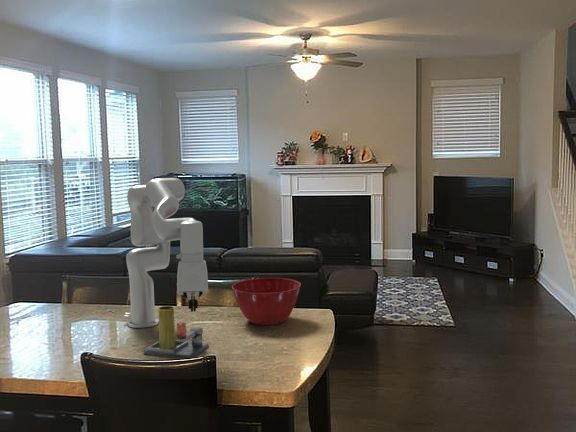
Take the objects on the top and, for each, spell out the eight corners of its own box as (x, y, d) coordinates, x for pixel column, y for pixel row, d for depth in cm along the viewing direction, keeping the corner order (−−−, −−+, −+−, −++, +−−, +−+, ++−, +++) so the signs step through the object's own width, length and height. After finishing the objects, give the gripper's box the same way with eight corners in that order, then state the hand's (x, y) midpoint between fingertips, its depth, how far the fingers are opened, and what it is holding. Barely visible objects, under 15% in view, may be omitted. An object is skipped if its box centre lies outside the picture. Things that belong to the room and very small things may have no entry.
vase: (160, 344, 216) (158, 306, 215) (177, 344, 217) (175, 305, 216) (157, 350, 210) (156, 310, 209) (175, 349, 211) (173, 309, 210)
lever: (193, 331, 218) (193, 313, 217) (204, 332, 216) (204, 314, 216) (174, 343, 204) (173, 324, 203) (185, 344, 202) (184, 325, 202)
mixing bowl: (296, 331, 234) (295, 292, 233) (225, 329, 239) (223, 291, 237) (305, 313, 262) (305, 278, 260) (242, 311, 266) (241, 277, 265)
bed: (143, 354, 210) (143, 339, 210) (164, 342, 223) (164, 328, 223) (189, 358, 204) (189, 343, 204) (208, 346, 217) (208, 332, 217)
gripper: (169, 260, 197) (170, 314, 200) (215, 258, 200) (216, 312, 202) (169, 256, 205) (170, 308, 207) (213, 254, 207) (214, 306, 210)
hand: (193, 310), depth 205 cm, fingers closed
